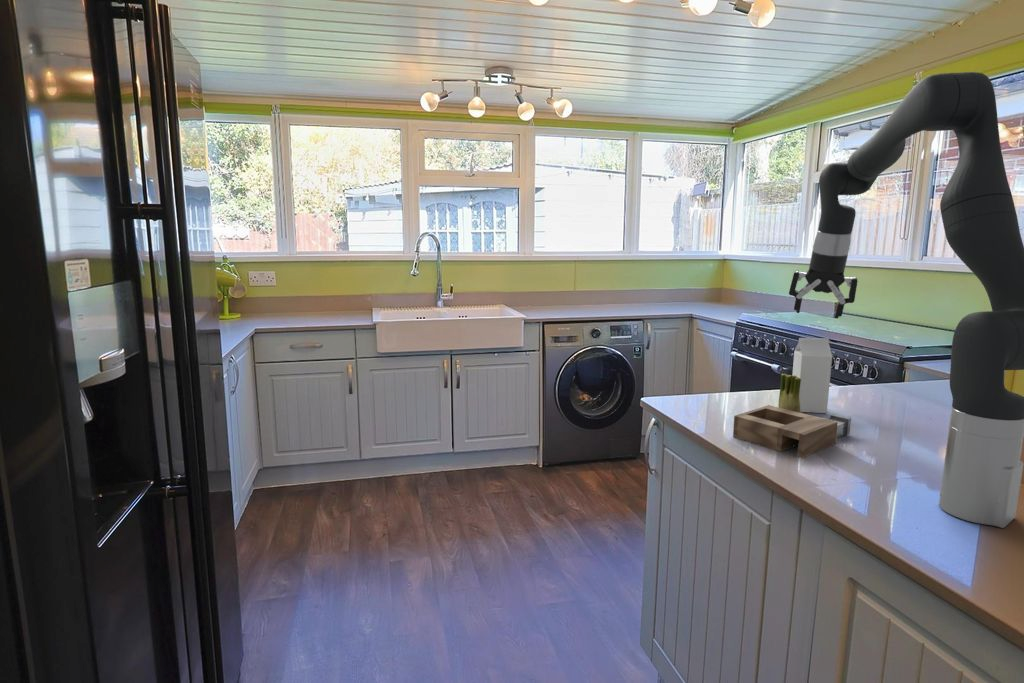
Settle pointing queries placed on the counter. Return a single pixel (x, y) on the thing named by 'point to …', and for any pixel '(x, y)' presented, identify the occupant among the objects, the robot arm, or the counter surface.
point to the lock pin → (841, 425)
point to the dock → (785, 429)
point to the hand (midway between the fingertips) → (816, 314)
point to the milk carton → (813, 373)
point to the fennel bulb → (789, 393)
